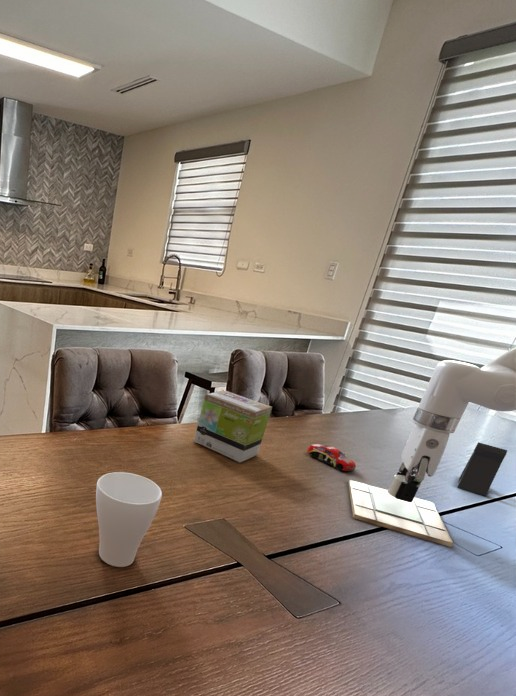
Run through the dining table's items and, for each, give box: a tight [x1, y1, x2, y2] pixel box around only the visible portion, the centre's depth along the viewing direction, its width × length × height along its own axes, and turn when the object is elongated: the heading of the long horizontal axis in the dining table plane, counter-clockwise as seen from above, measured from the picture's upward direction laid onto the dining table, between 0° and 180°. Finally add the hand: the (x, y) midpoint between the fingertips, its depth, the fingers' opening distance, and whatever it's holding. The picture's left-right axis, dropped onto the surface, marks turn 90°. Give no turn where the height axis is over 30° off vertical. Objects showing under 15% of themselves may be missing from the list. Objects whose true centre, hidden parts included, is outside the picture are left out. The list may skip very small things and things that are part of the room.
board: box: [347, 479, 454, 548], centre depth 108 cm, size 18×20×1 cm
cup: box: [95, 471, 163, 568], centre depth 78 cm, size 10×10×14 cm
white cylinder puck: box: [387, 474, 422, 500], centre depth 106 cm, size 5×5×4 cm
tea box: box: [193, 389, 273, 464], centre depth 128 cm, size 15×10×15 cm
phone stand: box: [457, 442, 508, 497], centre depth 124 cm, size 9×6×12 cm, turn 138°
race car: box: [306, 443, 356, 472], centre depth 130 cm, size 13×5×4 cm, turn 26°
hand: (401, 493), depth 106 cm, fingers closed on white cylinder puck, 5 cm apart
